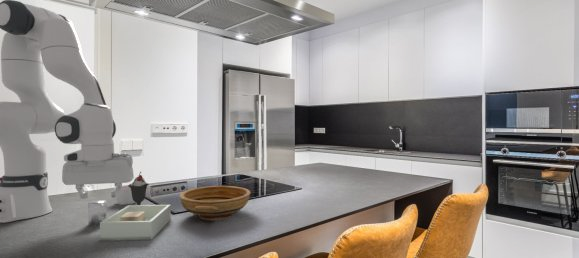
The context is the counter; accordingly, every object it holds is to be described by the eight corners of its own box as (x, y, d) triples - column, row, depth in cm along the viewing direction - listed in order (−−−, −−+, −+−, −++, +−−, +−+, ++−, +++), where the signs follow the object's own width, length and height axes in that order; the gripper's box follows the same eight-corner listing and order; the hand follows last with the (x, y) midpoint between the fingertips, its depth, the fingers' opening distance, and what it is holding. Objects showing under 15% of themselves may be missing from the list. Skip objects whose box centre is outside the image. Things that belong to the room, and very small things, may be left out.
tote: (151, 239, 85) (151, 221, 85) (99, 240, 84) (99, 222, 84) (170, 219, 103) (170, 204, 103) (128, 220, 102) (128, 205, 102)
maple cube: (119, 234, 87) (119, 216, 87) (127, 228, 92) (127, 211, 92) (138, 234, 87) (138, 216, 87) (145, 228, 92) (145, 211, 92)
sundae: (141, 215, 107) (140, 172, 107) (124, 214, 108) (123, 171, 108) (153, 210, 113) (152, 169, 113) (137, 209, 115) (136, 169, 115)
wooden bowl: (195, 203, 123) (195, 183, 123) (255, 204, 123) (255, 184, 123) (163, 229, 94) (163, 203, 93) (243, 230, 93) (243, 204, 93)
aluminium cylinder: (84, 226, 96) (84, 204, 95) (93, 221, 101) (93, 200, 100) (101, 226, 96) (101, 204, 96) (109, 221, 101) (109, 199, 101)
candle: (115, 201, 126) (115, 186, 126) (140, 199, 130) (140, 184, 130) (113, 206, 118) (113, 190, 118) (139, 204, 122) (139, 188, 122)
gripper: (136, 152, 102) (137, 194, 102) (71, 154, 100) (72, 196, 100) (127, 153, 95) (129, 198, 96) (58, 156, 94) (59, 201, 94)
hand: (99, 197), depth 98 cm, fingers open, 8 cm apart
